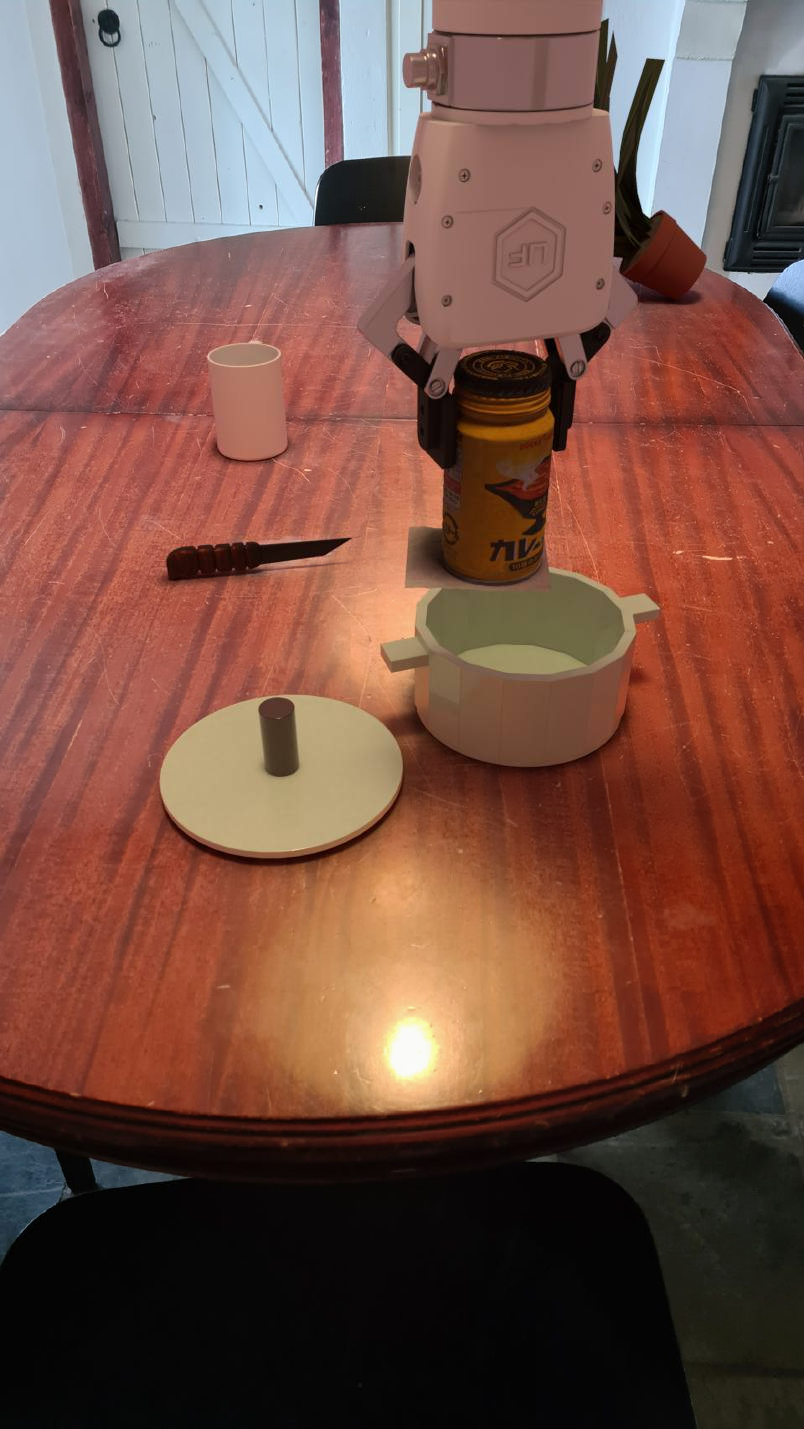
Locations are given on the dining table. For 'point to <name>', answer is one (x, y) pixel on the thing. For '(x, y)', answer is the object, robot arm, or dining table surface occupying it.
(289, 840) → the lid
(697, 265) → the potted plant
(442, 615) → the pot
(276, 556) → the knife
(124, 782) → the dining table surface
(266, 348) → the mug
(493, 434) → the condiment
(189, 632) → the dining table surface
